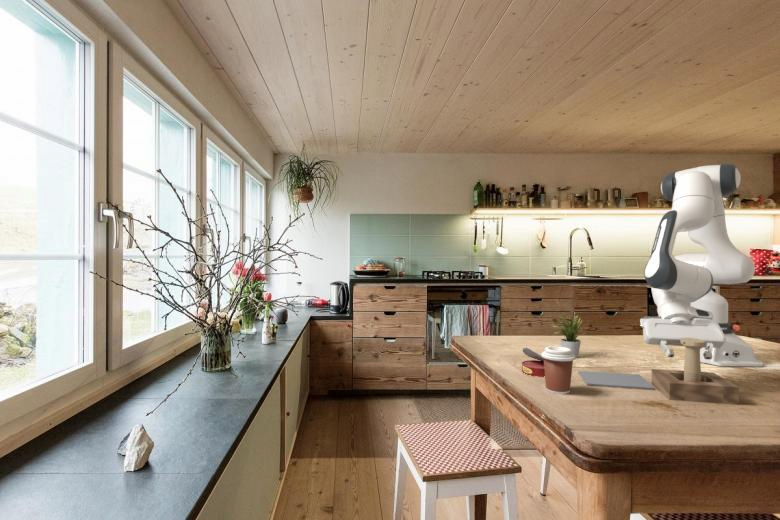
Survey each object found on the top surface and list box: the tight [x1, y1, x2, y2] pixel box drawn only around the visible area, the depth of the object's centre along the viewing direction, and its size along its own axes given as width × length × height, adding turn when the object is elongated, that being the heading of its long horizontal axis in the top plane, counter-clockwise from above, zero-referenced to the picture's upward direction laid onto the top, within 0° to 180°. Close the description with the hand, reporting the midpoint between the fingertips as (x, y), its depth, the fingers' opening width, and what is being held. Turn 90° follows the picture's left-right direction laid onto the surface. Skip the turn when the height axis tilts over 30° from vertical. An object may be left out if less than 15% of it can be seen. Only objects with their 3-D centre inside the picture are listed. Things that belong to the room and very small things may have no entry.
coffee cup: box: [541, 345, 576, 395], centre depth 124 cm, size 9×9×12 cm
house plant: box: [550, 314, 589, 359], centre depth 166 cm, size 14×14×16 cm
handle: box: [680, 338, 706, 382], centre depth 121 cm, size 5×6×15 cm
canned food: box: [521, 347, 545, 378], centre depth 143 cm, size 11×10×10 cm
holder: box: [651, 368, 740, 405], centre depth 122 cm, size 16×14×4 cm
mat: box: [578, 370, 656, 391], centre depth 134 cm, size 18×14×1 cm
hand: (689, 357), depth 123 cm, fingers open, 8 cm apart
